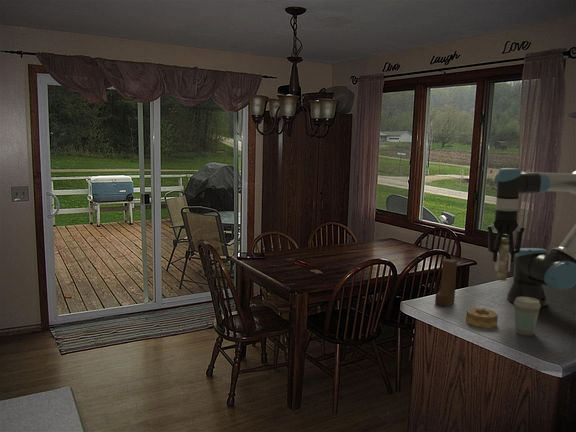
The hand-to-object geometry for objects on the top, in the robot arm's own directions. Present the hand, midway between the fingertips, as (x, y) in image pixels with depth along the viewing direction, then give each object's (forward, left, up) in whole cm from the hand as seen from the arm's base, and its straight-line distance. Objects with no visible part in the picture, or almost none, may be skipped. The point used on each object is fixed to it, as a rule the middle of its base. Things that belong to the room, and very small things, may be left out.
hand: (502, 270), depth 183 cm
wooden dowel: (0, 0, -4) cm, 4 cm away
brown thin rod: (+8, -2, -18) cm, 20 cm away
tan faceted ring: (+8, +9, -18) cm, 22 cm away
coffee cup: (-5, +16, -18) cm, 25 cm away
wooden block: (+18, -11, -18) cm, 28 cm away
